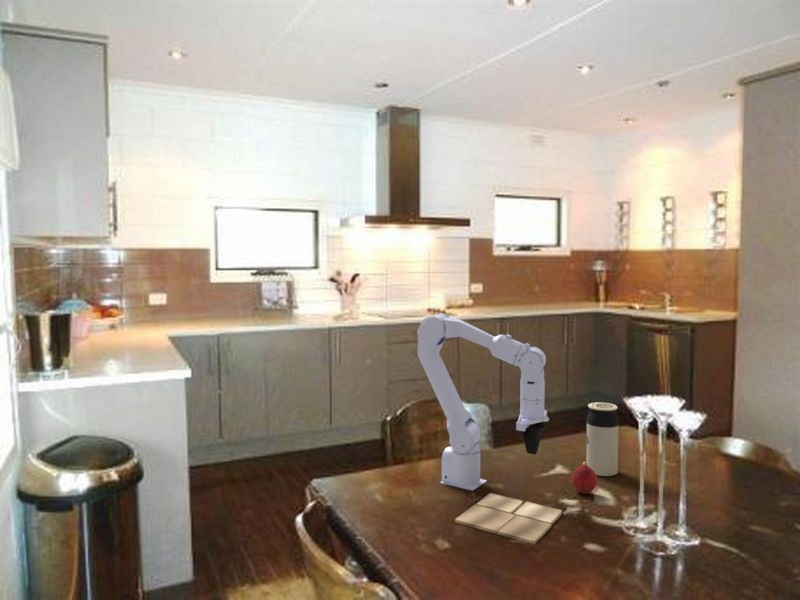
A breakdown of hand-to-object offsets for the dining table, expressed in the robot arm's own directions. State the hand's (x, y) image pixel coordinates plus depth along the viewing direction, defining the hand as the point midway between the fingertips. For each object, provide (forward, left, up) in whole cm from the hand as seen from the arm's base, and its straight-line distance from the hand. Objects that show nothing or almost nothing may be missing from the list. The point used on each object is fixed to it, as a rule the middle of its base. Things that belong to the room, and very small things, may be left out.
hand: (532, 453), depth 142 cm
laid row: (+2, -21, -10) cm, 23 cm away
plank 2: (+7, -12, -10) cm, 17 cm away
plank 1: (-3, -12, -10) cm, 16 cm away
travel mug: (+10, +24, -10) cm, 28 cm away
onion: (+11, +6, -10) cm, 16 cm away
